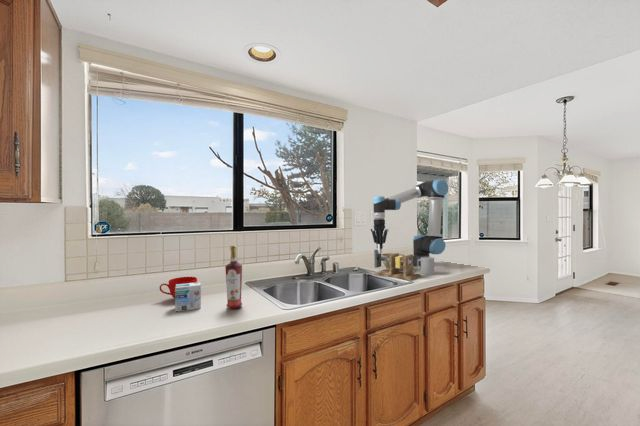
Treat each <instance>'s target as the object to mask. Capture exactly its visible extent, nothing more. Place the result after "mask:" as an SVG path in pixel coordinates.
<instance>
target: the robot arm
mask: <svg viewBox="0 0 640 426" xmlns="http://www.w3.org/2000/svg"><path fill="white" fill-rule="evenodd" d="M448 192H449V185H448V183H447V182H446V181H445V180H444V179H440V178H439V179H433V180H426V181H424V182H422V183H419V184H417V185H414V186H413V187H412V188H410V189H406V190H404V191H402V192H399V193H396V194H394V195H390V196H389V197H386V198H385V196H384V195H381V196H373V203H372V205H373V227H372V228H371V229H370V231H371V236H372V238H373V239H372V241H373V243H375V244H376V250H377V249H378V254H381V255H382V254H383V252H382V251H383V248H384V247H383V246H384V245H383V244H386V241H387V236H388V232H389V228H386V220H385V219H386V211H398V210H400V209H401V207H402V204H403V203H406V202H409V201H410V200H414V199H415V198H417V199H419V198H425V197H427V199H428V200H429V205H428V220H427V221H428V223H427V225H428V226H427V233H426V234H423V235H414V236H413V238H412V243H413V244H412V245H413V246H412V247H413V250H412V251H413V254H412V255H413V267H418V266H417V261H418V259H421V257H431V256H430V255H440V254H442V253H443V252H445V250H446V245H447V244H446V242H445V240H444V239H443V235H442V234H441V230H442V229H441V226H442V210H443V209H442V206H443V201H444V199H445V196H446V195H447V193H448ZM419 266H420V267H421V261H419Z"/></svg>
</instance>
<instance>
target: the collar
mask: <svg viewBox="0 0 640 426" xmlns="http://www.w3.org/2000/svg"><path fill="white" fill-rule="evenodd" d="M401 259H403V256H397V257H395V268H400V269H403V263H401Z"/></svg>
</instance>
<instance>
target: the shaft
mask: <svg viewBox="0 0 640 426" xmlns="http://www.w3.org/2000/svg"><path fill="white" fill-rule="evenodd" d="M373 252H374V253H373V254H374V255H373V256H374V268H376V269H377V268H380V267H382V262H383V261H389V258H388V257H382V253H381V254H378V249H377V248H376V249H374V251H373ZM394 262H395V258H394ZM401 263H403V259H401ZM408 264H412V260H409V259H408Z"/></svg>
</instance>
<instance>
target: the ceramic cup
mask: <svg viewBox="0 0 640 426" xmlns="http://www.w3.org/2000/svg"><path fill="white" fill-rule="evenodd" d="M196 282H198V278H197V277H196V276H181V277H175V278H171V279H169V280H168V283H161V284H160V285H159V291H160V292H161V293H162V294H166V295H171V296H172V298H173V299H174V300H175V287H176V284H186V283H196ZM162 286H165V287H166V286H167V287H168V289H169V292H166V291H164V290H163V288H162Z"/></svg>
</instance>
